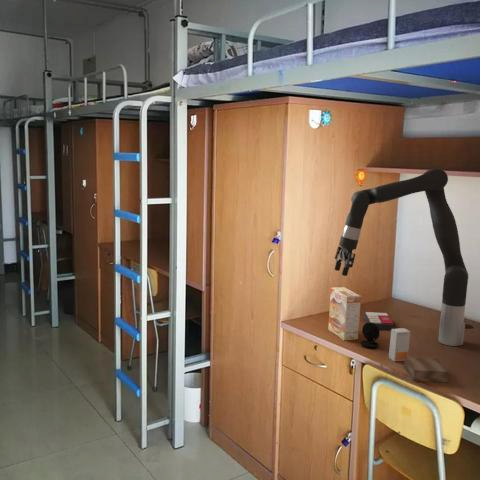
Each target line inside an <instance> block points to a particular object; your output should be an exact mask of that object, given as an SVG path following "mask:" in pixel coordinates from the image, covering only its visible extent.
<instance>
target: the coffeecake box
mask: <svg viewBox="0 0 480 480" xmlns="http://www.w3.org/2000/svg"><path fill="white" fill-rule="evenodd" d="M329 299H330V300H329V312H328V313H329V314H328V315H329V316H328V331H330V332H331V333H333V334H334V335H336V336H337V337H339V338H340V339H341V340H342V341H344V340H346V341H354V340H356V339H357V340H359V326H360V314H361V302H362V301H361V299H362V295H360V294H358V293H356V292H354V291H352V290H350V289H348V288H347V287H345V286H342V287H341V286H340V287H336V286H335V287H331V288H330V298H329Z"/></svg>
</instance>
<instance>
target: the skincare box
mask: <svg viewBox="0 0 480 480" xmlns="http://www.w3.org/2000/svg"><path fill="white" fill-rule="evenodd" d="M389 339H390V342H389V349H388V350H389V351H388V358H389V359H390V360H392V361H393V362H405V357H407V358H409V347H410V339H411V331H410V330H408V329H406V328H404V327H403V328H399V327H398V328H394V329H391V330H390V338H389Z"/></svg>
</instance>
